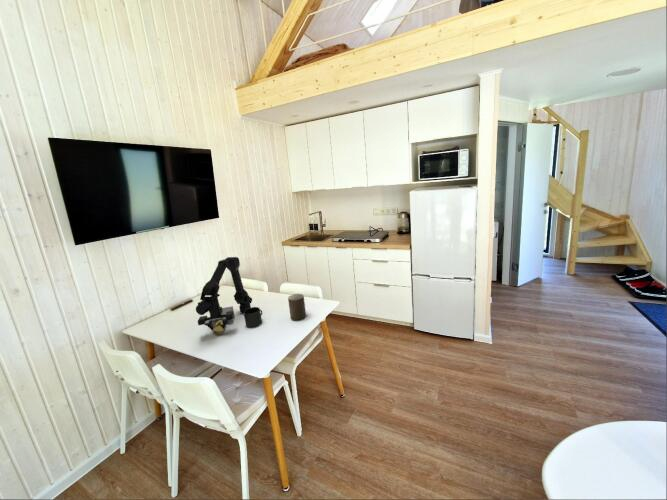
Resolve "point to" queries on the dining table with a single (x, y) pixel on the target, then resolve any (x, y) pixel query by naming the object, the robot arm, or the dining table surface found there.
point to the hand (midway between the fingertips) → (219, 331)
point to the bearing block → (225, 313)
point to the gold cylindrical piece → (218, 327)
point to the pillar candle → (297, 307)
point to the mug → (253, 317)
